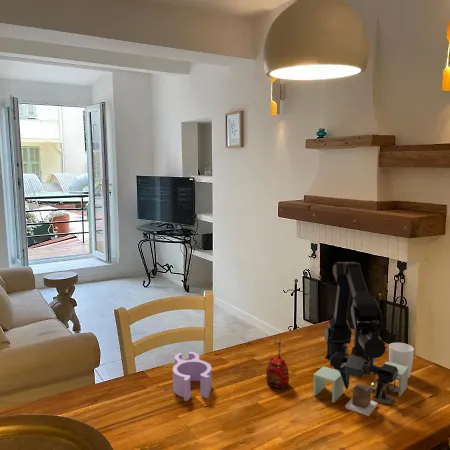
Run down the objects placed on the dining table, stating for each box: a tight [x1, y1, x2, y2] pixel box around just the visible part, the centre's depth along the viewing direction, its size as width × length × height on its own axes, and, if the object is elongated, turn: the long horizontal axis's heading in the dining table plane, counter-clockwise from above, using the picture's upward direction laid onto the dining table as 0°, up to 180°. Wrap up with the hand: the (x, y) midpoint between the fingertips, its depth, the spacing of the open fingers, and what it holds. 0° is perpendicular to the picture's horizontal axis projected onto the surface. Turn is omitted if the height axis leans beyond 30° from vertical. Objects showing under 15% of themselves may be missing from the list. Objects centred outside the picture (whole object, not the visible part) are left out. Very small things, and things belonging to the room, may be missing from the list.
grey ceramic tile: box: [345, 398, 378, 417], centre depth 135 cm, size 7×7×1 cm
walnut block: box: [351, 383, 372, 409], centre depth 134 cm, size 4×4×5 cm
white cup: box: [388, 342, 415, 379], centre depth 154 cm, size 8×8×10 cm
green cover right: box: [380, 360, 409, 397], centre depth 145 cm, size 7×7×7 cm
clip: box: [172, 351, 213, 402], centre depth 148 cm, size 20×12×7 cm, turn 16°
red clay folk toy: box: [265, 337, 290, 390], centre depth 148 cm, size 8×7×15 cm
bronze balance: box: [370, 372, 400, 406], centre depth 138 cm, size 9×4×10 cm, turn 53°
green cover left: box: [312, 366, 345, 403], centre depth 142 cm, size 7×7×7 cm
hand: (361, 393), depth 134 cm, fingers open, 9 cm apart
